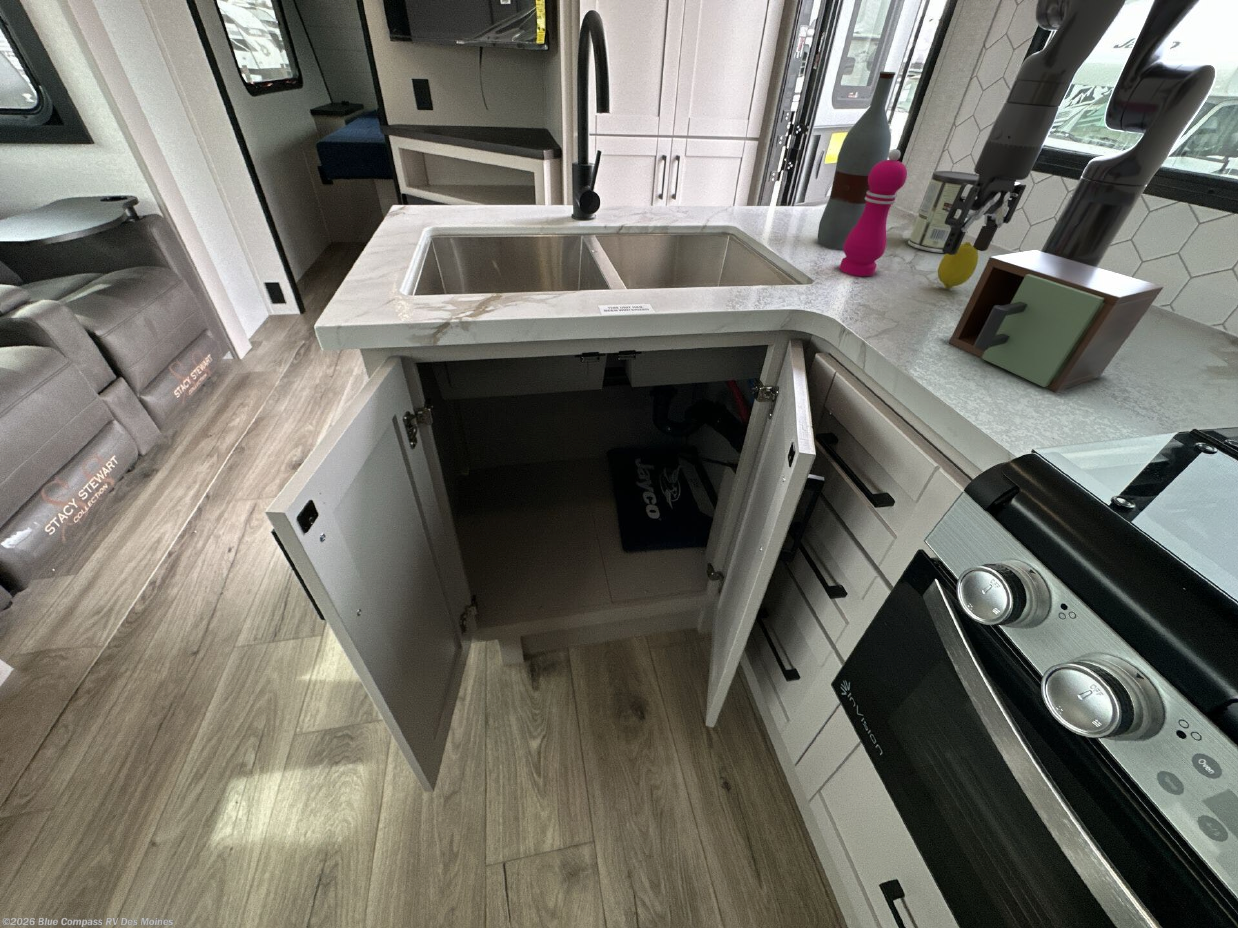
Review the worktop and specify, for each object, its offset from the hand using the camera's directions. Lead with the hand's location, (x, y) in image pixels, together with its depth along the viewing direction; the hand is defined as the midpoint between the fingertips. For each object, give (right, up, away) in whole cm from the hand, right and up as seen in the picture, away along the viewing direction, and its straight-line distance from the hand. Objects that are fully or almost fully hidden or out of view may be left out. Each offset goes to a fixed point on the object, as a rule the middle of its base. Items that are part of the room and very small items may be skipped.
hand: (964, 251), depth 88 cm
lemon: (0, -5, +5) cm, 7 cm away
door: (-10, -25, -22) cm, 35 cm away
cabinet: (-4, -22, -17) cm, 28 cm away
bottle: (-12, +11, +24) cm, 29 cm away
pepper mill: (-14, 0, +10) cm, 17 cm away
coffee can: (+11, +12, +27) cm, 31 cm away
